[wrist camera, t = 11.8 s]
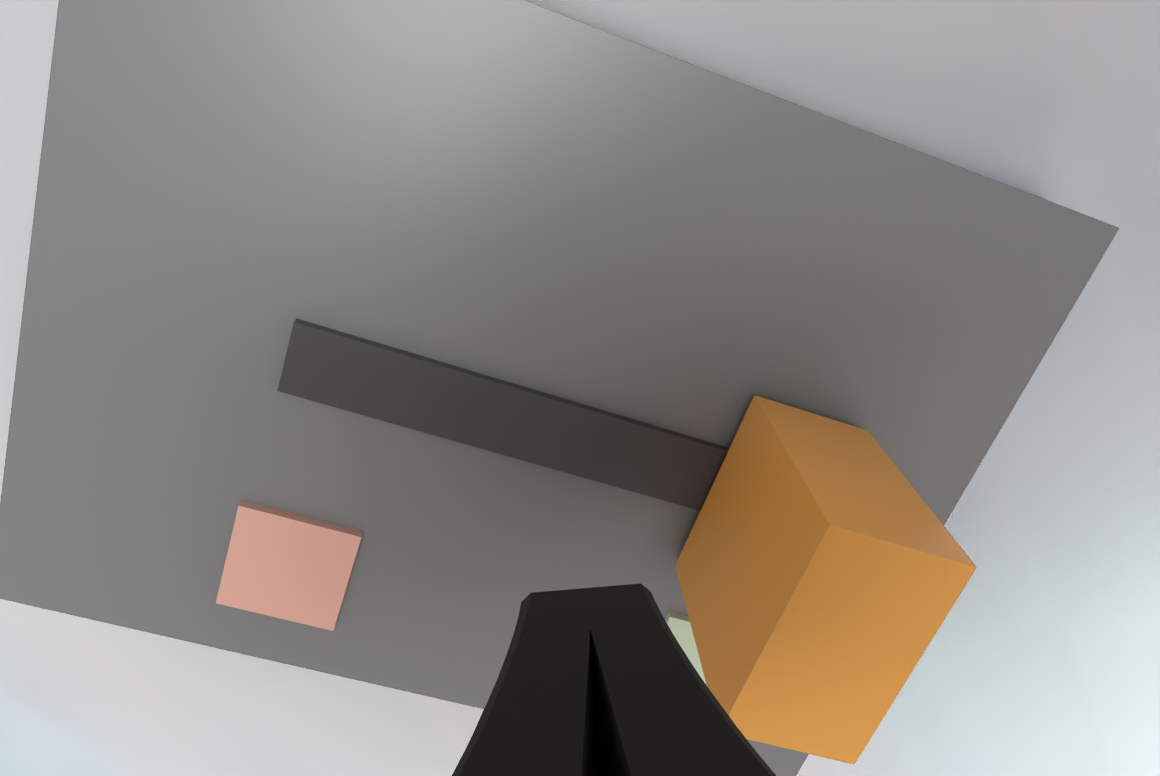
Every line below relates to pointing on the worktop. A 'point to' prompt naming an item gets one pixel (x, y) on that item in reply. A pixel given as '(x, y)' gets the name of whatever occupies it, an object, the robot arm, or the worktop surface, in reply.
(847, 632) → the block
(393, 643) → the breaker panel
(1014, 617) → the worktop surface
